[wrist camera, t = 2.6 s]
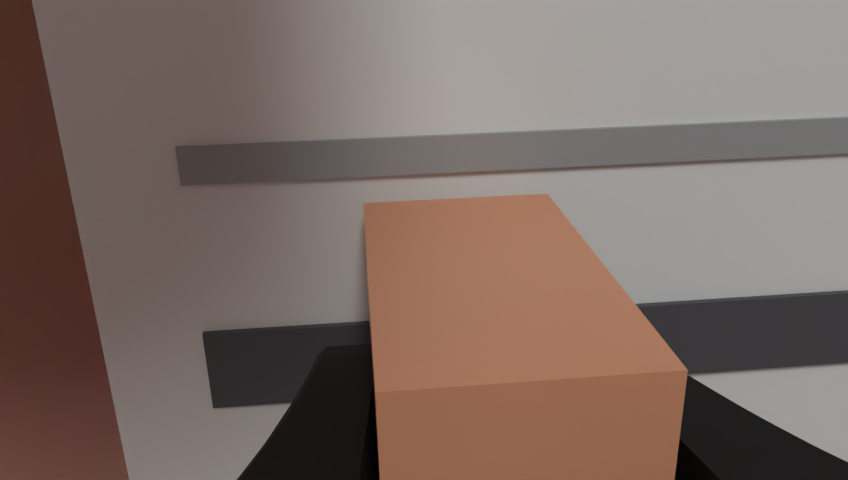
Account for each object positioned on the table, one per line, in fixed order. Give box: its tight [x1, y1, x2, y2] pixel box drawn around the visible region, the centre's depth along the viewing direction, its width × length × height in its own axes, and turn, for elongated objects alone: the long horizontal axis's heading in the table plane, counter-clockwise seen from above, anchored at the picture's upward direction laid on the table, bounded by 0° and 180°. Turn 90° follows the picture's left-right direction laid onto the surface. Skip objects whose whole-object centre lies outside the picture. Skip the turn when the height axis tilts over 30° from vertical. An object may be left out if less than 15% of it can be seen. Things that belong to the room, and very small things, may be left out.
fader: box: [363, 194, 688, 480], centre depth 9 cm, size 2×5×4 cm, turn 1°
